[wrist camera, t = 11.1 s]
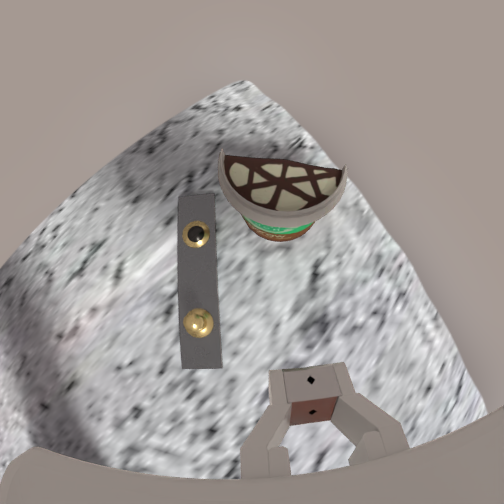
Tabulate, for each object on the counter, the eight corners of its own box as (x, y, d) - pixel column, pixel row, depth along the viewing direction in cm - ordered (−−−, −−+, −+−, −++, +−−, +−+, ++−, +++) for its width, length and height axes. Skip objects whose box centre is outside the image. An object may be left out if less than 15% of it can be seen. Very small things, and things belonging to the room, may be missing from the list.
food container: (218, 243, 33) (200, 208, 24) (228, 195, 35) (215, 147, 25) (326, 259, 32) (350, 229, 23) (331, 209, 34) (352, 165, 24)
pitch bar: (183, 368, 30) (173, 372, 26) (180, 199, 35) (171, 185, 32) (222, 367, 30) (217, 372, 26) (214, 195, 35) (209, 181, 32)
